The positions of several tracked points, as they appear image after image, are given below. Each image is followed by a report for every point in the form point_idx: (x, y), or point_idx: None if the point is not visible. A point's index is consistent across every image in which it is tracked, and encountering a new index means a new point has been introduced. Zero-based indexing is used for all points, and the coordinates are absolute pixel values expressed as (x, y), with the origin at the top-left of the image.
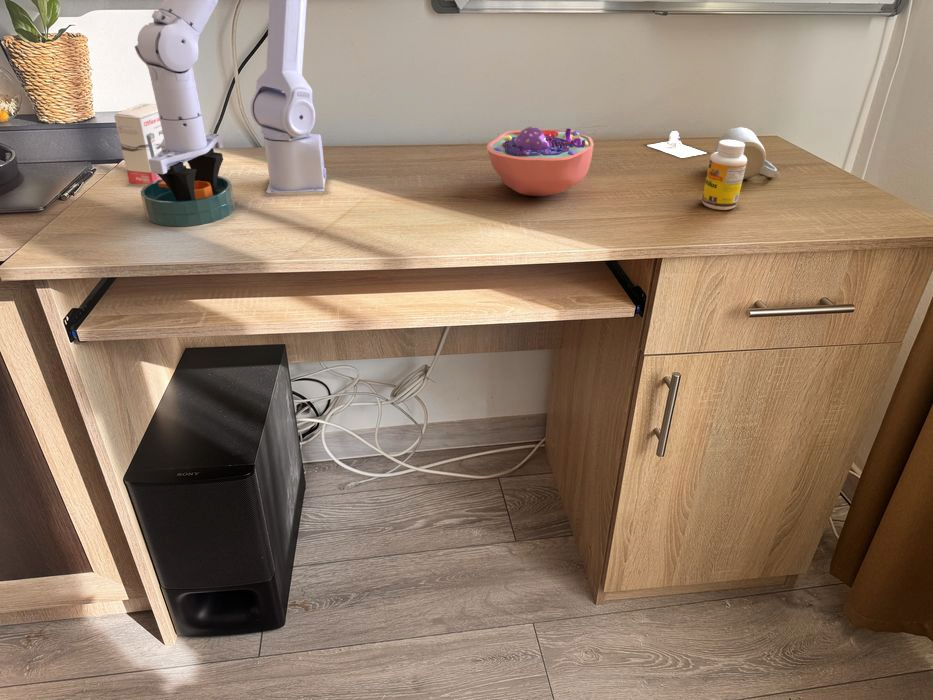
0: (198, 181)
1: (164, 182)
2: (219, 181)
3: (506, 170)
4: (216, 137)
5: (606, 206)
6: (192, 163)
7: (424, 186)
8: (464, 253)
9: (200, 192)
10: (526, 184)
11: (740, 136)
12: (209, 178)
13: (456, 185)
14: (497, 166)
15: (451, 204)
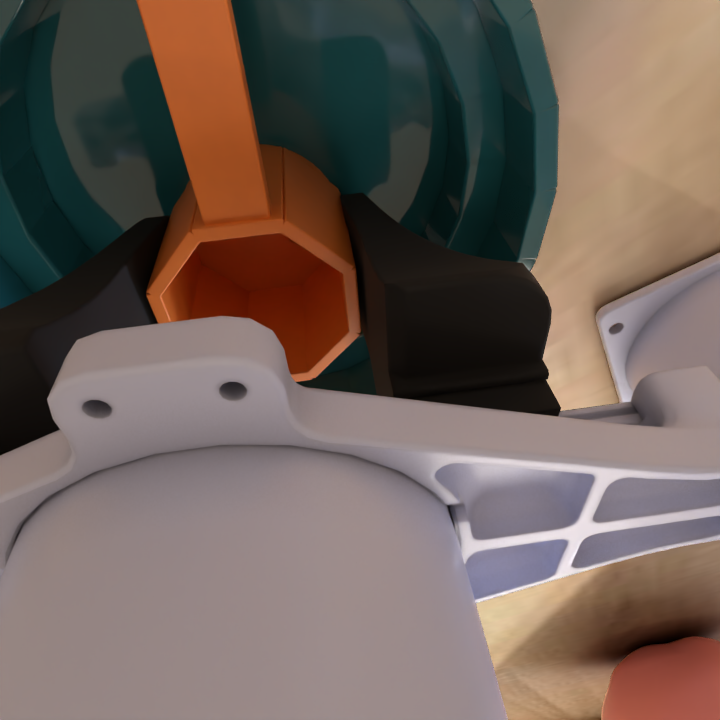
0: (344, 272)
1: (182, 27)
2: (500, 259)
3: (627, 717)
4: (624, 559)
5: (595, 691)
6: (378, 318)
7: (701, 555)
8: None
9: None
10: (604, 702)
11: None
12: (370, 350)
13: (705, 583)
14: (648, 711)
15: (578, 612)
